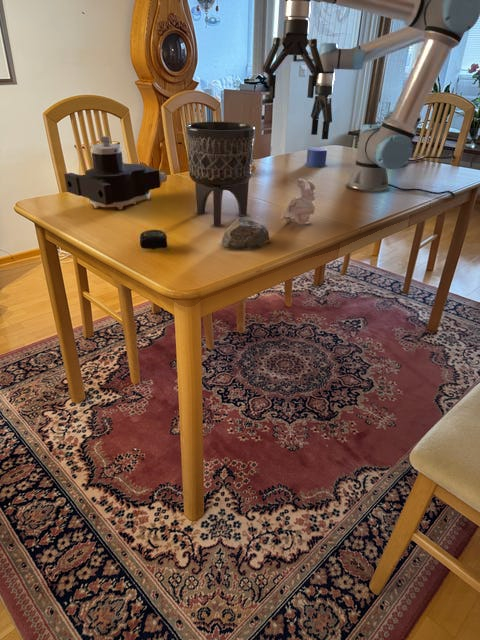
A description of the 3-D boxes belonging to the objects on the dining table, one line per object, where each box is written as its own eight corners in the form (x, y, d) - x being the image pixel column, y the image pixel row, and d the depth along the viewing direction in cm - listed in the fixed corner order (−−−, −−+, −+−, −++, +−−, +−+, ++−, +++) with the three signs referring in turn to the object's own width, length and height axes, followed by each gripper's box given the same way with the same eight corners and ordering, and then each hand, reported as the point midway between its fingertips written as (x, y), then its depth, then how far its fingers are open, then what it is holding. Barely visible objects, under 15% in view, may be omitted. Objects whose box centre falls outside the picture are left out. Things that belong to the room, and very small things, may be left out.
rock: (255, 233, 128) (256, 211, 124) (276, 242, 122) (278, 219, 119) (217, 244, 120) (217, 220, 117) (239, 254, 115) (239, 230, 111)
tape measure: (140, 252, 115) (139, 238, 113) (141, 242, 120) (140, 229, 119) (167, 251, 116) (166, 237, 114) (167, 241, 121) (166, 228, 120)
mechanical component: (57, 135, 140) (135, 127, 160) (69, 203, 151) (140, 187, 171) (98, 144, 128) (177, 134, 148) (107, 217, 139) (180, 198, 159)
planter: (175, 218, 139) (170, 125, 125) (214, 204, 153) (213, 119, 139) (227, 232, 129) (227, 132, 116) (263, 215, 143) (268, 125, 130)
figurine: (321, 218, 142) (325, 177, 135) (298, 231, 131) (302, 187, 125) (298, 213, 146) (301, 173, 139) (274, 225, 135) (277, 182, 128)
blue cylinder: (318, 168, 208) (319, 151, 204) (302, 165, 213) (303, 148, 209) (329, 165, 213) (331, 149, 210) (313, 162, 219) (315, 146, 215)
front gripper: (327, 21, 142) (320, 96, 153) (253, 18, 135) (251, 97, 146) (339, 20, 136) (331, 98, 147) (262, 16, 129) (259, 99, 140)
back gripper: (306, 83, 206) (302, 133, 217) (326, 86, 185) (321, 141, 196) (322, 83, 208) (317, 132, 218) (343, 86, 187) (337, 141, 197)
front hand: (291, 98), depth 146 cm, fingers open, 13 cm apart
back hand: (319, 137), depth 207 cm, fingers open, 13 cm apart
